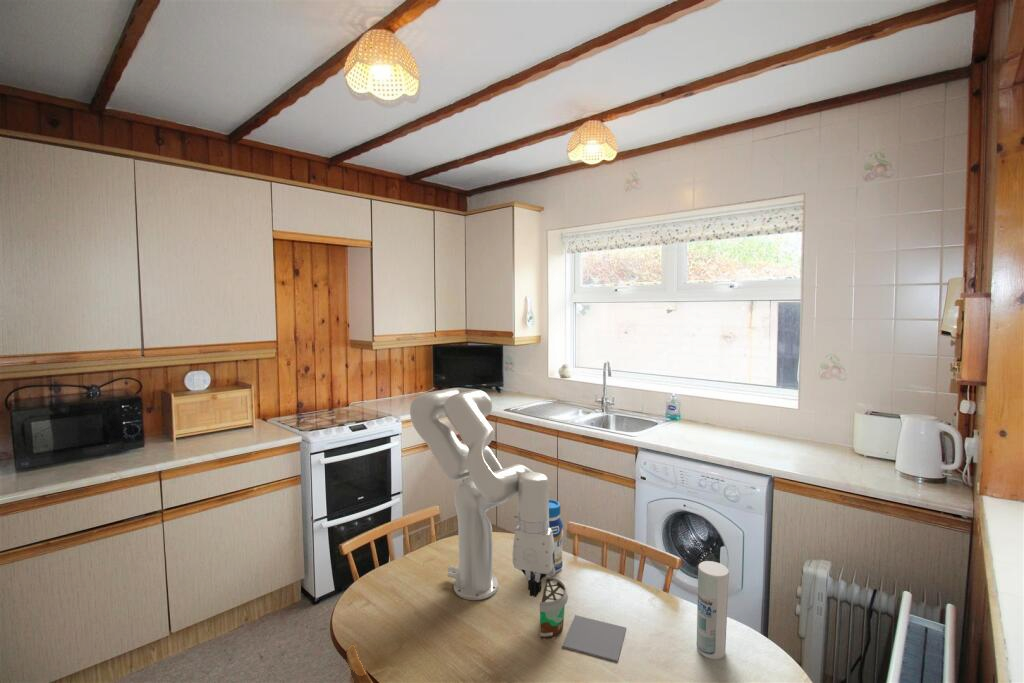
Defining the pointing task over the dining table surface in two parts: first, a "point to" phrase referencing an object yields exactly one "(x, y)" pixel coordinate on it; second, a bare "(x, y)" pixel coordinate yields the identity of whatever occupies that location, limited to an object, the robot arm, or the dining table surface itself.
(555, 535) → the beverage bottle
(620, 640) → the mat
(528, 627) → the dining table surface
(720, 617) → the spray can
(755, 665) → the dining table surface
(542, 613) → the food container
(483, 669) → the dining table surface
